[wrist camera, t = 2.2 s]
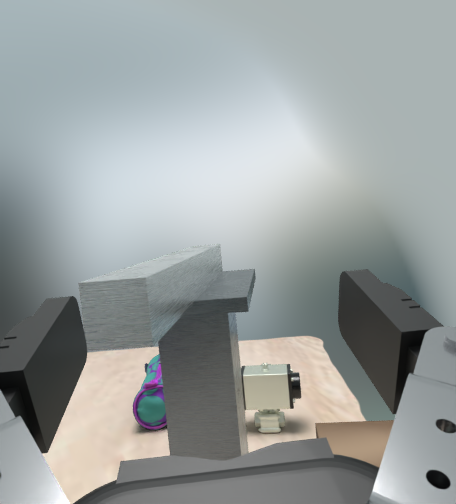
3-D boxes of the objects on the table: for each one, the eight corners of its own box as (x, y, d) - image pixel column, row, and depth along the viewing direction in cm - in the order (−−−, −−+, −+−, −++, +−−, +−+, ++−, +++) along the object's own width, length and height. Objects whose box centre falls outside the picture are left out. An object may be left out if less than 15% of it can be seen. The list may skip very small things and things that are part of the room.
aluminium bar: (153, 346, 17) (145, 277, 17) (86, 350, 17) (78, 282, 17) (222, 271, 43) (219, 244, 42) (195, 273, 43) (192, 246, 43)
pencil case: (147, 390, 93) (143, 350, 93) (184, 385, 94) (180, 346, 93) (134, 436, 72) (128, 386, 72) (181, 430, 73) (176, 380, 72)
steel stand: (286, 732, 28) (247, 296, 26) (152, 726, 29) (104, 307, 27) (279, 549, 44) (254, 269, 42) (192, 550, 45) (164, 276, 43)
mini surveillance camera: (304, 434, 67) (298, 366, 67) (236, 436, 69) (230, 369, 68) (302, 418, 73) (297, 355, 72) (240, 420, 74) (234, 358, 74)
